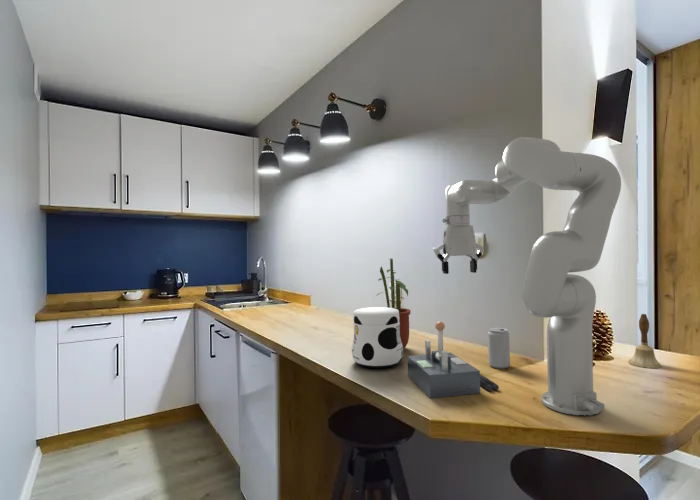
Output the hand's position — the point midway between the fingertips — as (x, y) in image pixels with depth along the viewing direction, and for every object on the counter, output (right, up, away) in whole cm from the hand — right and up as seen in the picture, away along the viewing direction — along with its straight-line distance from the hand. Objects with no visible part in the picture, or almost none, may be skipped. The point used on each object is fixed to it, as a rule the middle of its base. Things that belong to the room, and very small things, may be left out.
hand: (459, 273), depth 128 cm
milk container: (-27, -31, +2) cm, 41 cm away
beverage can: (+11, -30, -5) cm, 32 cm away
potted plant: (-21, -31, +21) cm, 42 cm away
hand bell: (+56, -29, -7) cm, 64 cm away
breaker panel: (-11, -31, -19) cm, 37 cm away
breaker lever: (-11, -23, -19) cm, 32 cm away
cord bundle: (+1, -30, -17) cm, 34 cm away
